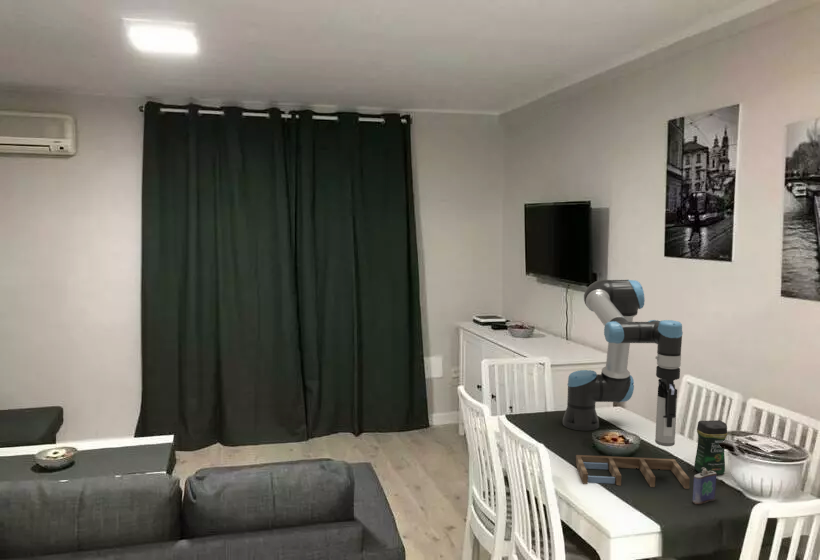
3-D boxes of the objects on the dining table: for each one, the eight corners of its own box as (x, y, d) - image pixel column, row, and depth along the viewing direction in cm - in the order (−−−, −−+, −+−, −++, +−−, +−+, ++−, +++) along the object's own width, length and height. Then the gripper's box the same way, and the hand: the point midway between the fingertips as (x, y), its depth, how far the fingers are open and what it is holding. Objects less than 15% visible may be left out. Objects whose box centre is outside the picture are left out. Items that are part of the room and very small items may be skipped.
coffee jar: (703, 476, 231) (705, 424, 230) (690, 468, 239) (693, 417, 237) (729, 475, 233) (732, 423, 231) (716, 467, 240) (718, 416, 239)
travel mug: (650, 441, 230) (653, 385, 228) (665, 439, 233) (667, 383, 231) (663, 447, 225) (666, 390, 222) (678, 445, 227) (681, 387, 225)
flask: (697, 505, 209) (698, 472, 208) (689, 501, 212) (690, 469, 210) (717, 499, 213) (719, 467, 212) (709, 496, 216) (711, 464, 215)
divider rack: (575, 464, 242) (576, 454, 242) (674, 468, 239) (674, 459, 238) (582, 483, 225) (583, 473, 225) (689, 488, 221) (689, 478, 221)
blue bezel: (581, 467, 239) (581, 461, 239) (607, 468, 238) (607, 463, 238) (587, 482, 226) (587, 476, 226) (614, 483, 225) (615, 478, 225)
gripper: (649, 359, 236) (646, 422, 238) (664, 373, 217) (661, 441, 219) (671, 360, 235) (668, 423, 238) (688, 373, 216) (684, 442, 219)
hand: (664, 432), depth 229 cm, fingers closed on travel mug, 6 cm apart
